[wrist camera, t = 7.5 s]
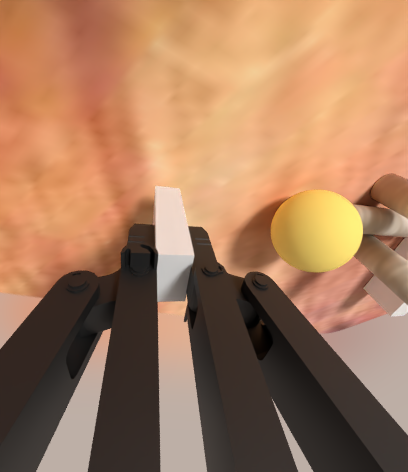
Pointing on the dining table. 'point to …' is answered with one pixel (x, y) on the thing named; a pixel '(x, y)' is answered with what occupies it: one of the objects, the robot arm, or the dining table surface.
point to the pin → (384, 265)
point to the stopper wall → (384, 294)
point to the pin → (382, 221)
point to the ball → (316, 231)
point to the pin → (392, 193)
